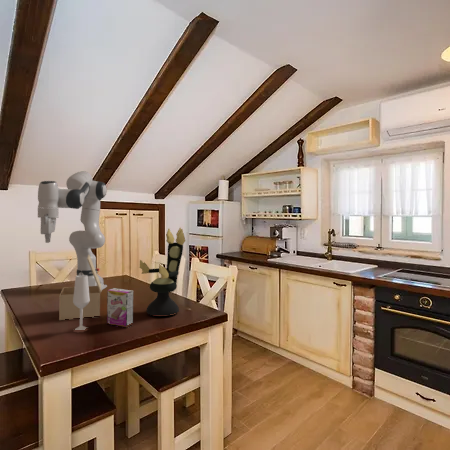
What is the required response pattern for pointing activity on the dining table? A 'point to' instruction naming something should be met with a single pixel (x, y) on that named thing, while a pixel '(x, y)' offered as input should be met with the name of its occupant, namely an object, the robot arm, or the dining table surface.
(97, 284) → the carton flap
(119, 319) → the candy bar box
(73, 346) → the dining table surface
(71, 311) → the carton
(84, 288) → the champagne flute
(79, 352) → the dining table surface
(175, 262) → the black and tan chair
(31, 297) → the dining table surface
